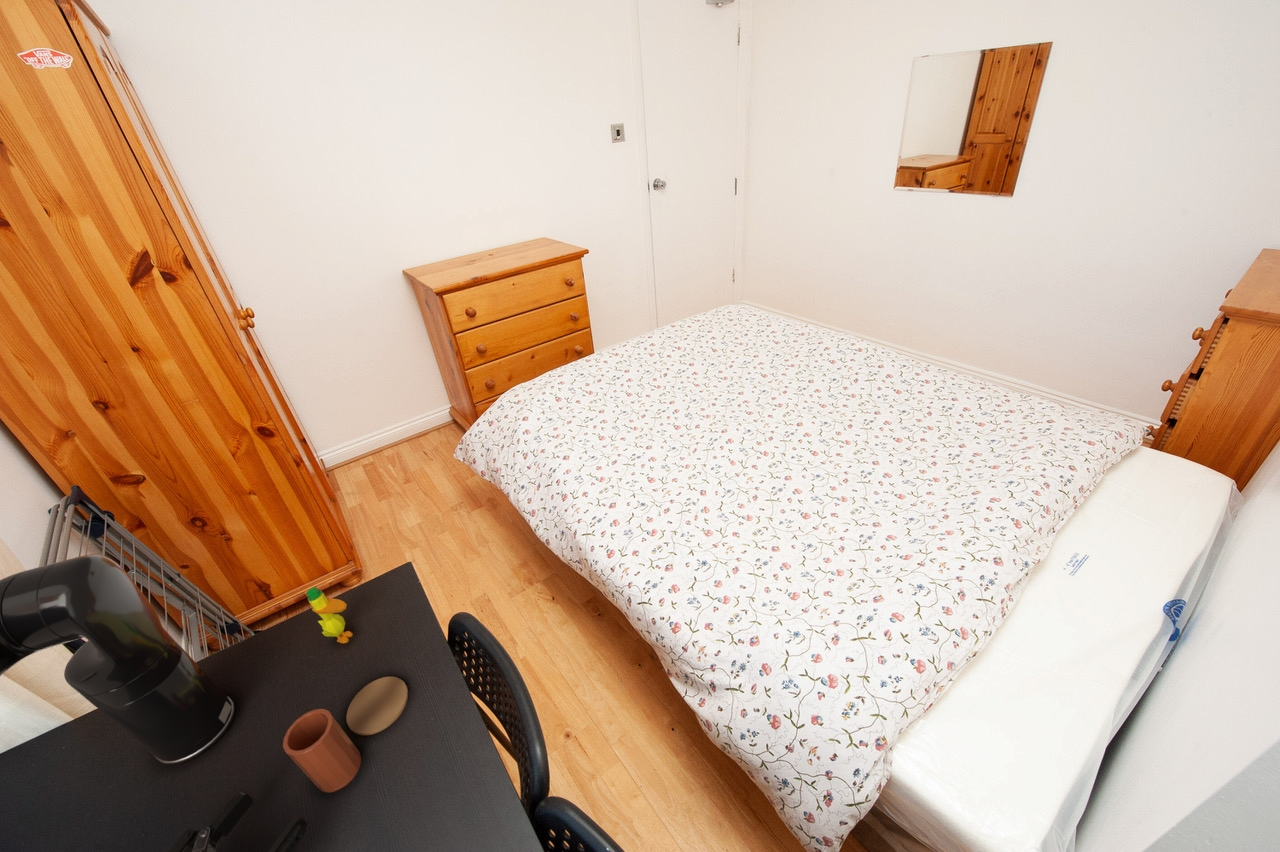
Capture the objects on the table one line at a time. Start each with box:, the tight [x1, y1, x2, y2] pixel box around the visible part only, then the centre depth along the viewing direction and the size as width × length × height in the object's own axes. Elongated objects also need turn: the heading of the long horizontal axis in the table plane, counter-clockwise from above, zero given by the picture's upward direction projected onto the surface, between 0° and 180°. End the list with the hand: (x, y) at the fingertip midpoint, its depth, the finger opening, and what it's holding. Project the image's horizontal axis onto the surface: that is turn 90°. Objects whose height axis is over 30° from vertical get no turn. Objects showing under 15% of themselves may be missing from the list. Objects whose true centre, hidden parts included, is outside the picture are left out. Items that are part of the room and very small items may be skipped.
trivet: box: [345, 676, 409, 736], centre depth 74 cm, size 8×8×1 cm
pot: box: [282, 708, 362, 793], centre depth 64 cm, size 5×5×10 cm
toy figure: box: [305, 586, 354, 644], centre depth 81 cm, size 7×4×12 cm, turn 84°
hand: (274, 807), depth 58 cm, fingers open, 8 cm apart
